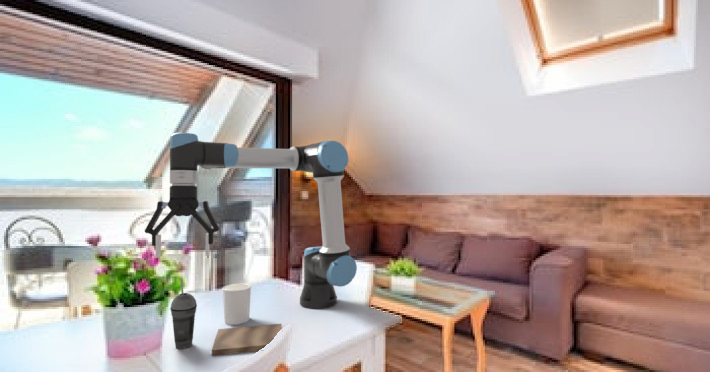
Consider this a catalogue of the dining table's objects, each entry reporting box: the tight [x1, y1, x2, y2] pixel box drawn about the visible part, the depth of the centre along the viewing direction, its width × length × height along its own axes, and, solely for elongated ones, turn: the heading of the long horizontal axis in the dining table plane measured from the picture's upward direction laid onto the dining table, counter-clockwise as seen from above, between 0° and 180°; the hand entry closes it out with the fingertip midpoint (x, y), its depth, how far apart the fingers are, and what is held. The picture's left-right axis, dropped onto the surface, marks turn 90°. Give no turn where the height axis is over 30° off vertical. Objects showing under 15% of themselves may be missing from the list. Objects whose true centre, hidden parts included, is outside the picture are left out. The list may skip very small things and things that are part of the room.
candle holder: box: [221, 282, 252, 326], centre depth 131 cm, size 10×10×12 cm
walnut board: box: [211, 323, 283, 356], centre depth 114 cm, size 20×16×2 cm
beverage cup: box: [169, 278, 198, 350], centre depth 110 cm, size 7×7×20 cm
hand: (183, 256), depth 110 cm, fingers open, 13 cm apart
